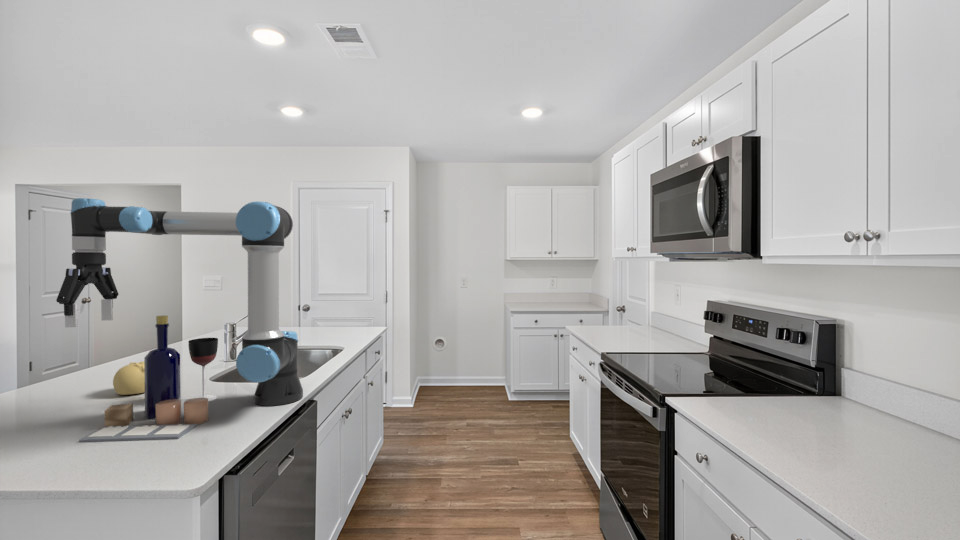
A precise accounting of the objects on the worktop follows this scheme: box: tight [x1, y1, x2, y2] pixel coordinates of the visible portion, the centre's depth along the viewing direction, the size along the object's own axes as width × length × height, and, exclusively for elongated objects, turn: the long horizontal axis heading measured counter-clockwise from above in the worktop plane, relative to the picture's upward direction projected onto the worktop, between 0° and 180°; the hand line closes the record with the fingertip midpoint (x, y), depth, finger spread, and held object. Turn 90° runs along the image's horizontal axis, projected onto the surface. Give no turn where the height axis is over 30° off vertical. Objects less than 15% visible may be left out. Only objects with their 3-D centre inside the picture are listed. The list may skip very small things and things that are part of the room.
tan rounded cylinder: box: [183, 397, 209, 425], centre depth 129 cm, size 6×6×6 cm
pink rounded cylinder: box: [155, 399, 182, 425], centre depth 128 cm, size 6×6×6 cm
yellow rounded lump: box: [112, 361, 145, 396], centre depth 155 cm, size 11×12×11 cm
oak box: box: [104, 402, 134, 427], centre depth 127 cm, size 5×5×5 cm
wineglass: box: [188, 337, 219, 402], centre depth 149 cm, size 8×9×20 cm
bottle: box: [143, 314, 182, 420], centre depth 135 cm, size 9×9×30 cm
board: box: [78, 423, 197, 443], centre depth 120 cm, size 24×9×1 cm, turn 96°
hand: (90, 323), depth 131 cm, fingers open, 13 cm apart
